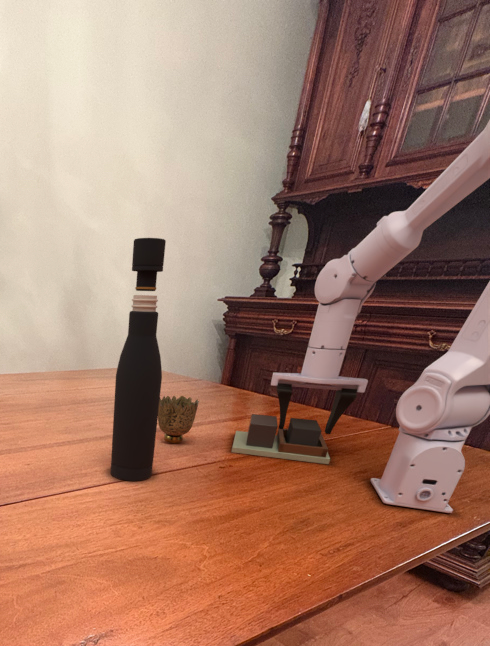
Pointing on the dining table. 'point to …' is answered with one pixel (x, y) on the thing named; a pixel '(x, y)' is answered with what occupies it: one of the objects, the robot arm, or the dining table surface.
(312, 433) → the loose block
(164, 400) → the cup
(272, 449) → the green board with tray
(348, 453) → the dining table surface
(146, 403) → the black bottle
